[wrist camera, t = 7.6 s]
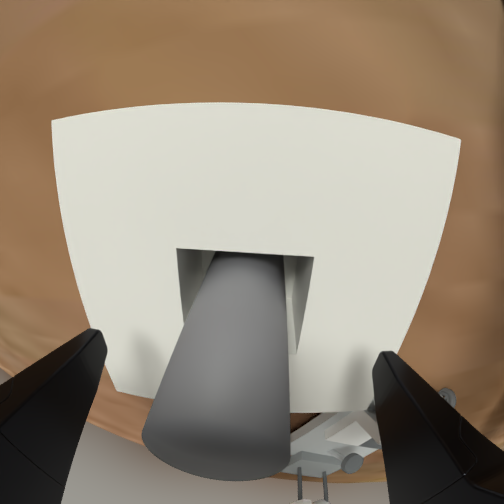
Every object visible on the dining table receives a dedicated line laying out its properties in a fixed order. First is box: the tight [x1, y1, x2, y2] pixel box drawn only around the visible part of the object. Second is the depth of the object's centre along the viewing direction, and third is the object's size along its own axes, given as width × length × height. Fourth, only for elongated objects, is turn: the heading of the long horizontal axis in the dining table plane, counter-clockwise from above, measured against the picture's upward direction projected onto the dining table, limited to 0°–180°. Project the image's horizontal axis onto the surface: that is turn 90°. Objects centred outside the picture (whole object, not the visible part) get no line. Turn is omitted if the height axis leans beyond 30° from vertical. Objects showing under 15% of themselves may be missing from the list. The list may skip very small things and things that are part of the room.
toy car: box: [281, 388, 456, 504], centre depth 19 cm, size 18×10×12 cm
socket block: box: [52, 103, 461, 413], centre depth 13 cm, size 14×14×5 cm
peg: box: [142, 251, 291, 481], centre depth 10 cm, size 3×3×10 cm
